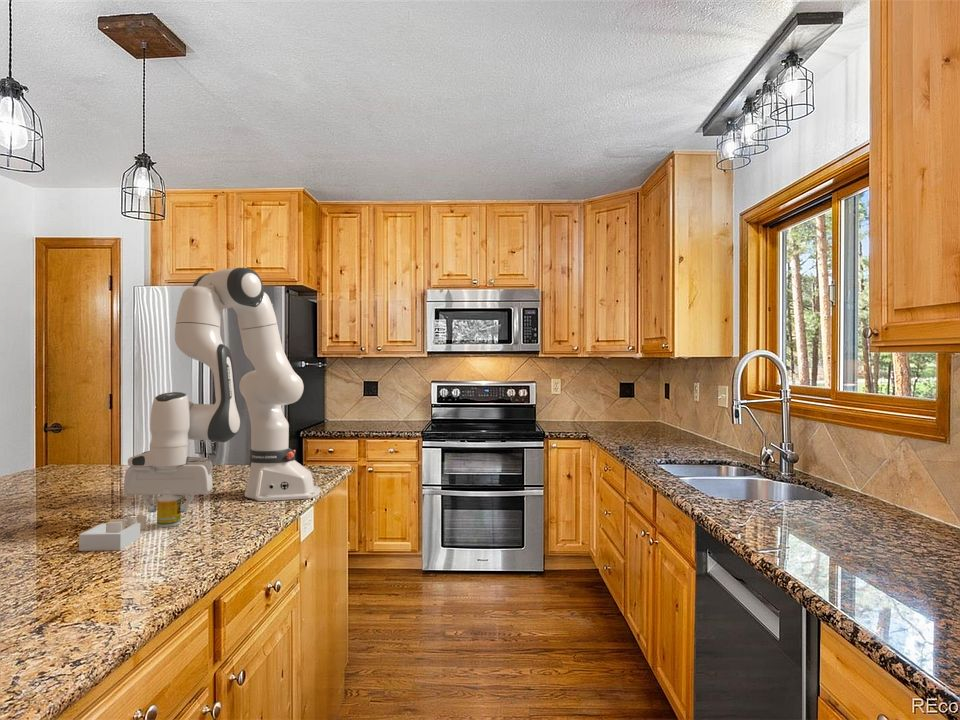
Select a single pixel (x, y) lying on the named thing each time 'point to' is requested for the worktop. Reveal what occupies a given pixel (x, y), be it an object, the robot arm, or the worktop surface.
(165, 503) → the supplement bottle
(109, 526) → the grey cube
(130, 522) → the clip
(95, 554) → the worktop surface
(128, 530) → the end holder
